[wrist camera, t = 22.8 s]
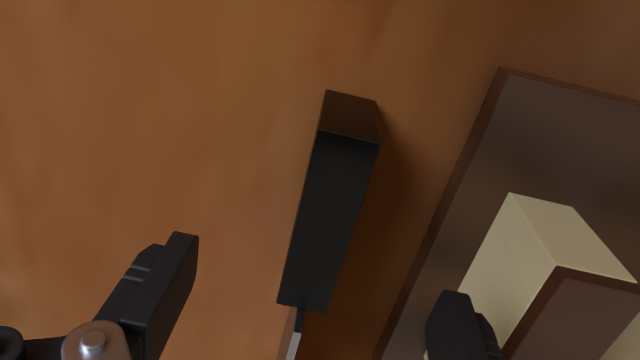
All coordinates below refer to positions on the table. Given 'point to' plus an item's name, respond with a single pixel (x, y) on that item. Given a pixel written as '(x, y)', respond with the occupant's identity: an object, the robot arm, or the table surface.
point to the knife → (327, 208)
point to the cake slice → (549, 284)
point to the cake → (626, 343)
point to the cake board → (526, 186)
